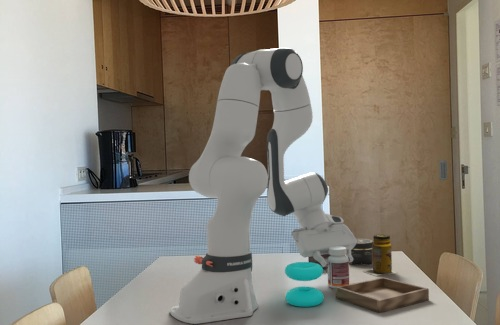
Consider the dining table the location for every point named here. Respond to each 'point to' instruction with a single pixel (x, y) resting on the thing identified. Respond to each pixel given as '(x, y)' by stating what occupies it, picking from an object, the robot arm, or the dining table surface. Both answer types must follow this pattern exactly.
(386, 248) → the condiment
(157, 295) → the dining table surface
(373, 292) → the tray
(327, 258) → the box
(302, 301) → the donuts
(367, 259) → the jar
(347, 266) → the pill bottle
